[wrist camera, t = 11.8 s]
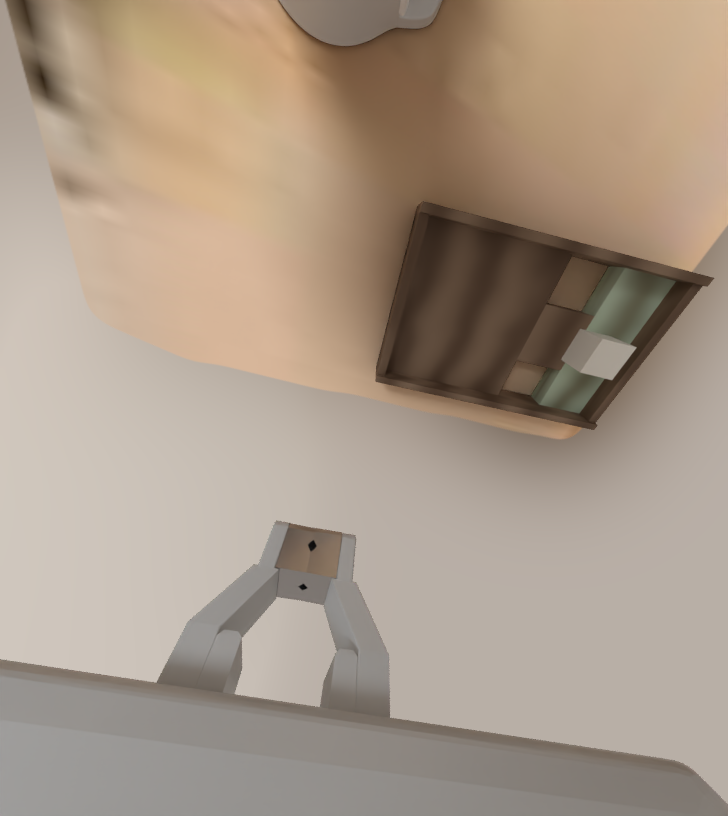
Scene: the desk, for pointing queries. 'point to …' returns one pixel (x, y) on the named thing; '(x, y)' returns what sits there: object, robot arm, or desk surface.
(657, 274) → the dark brown rimmed tray
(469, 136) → the desk surface
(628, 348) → the block
